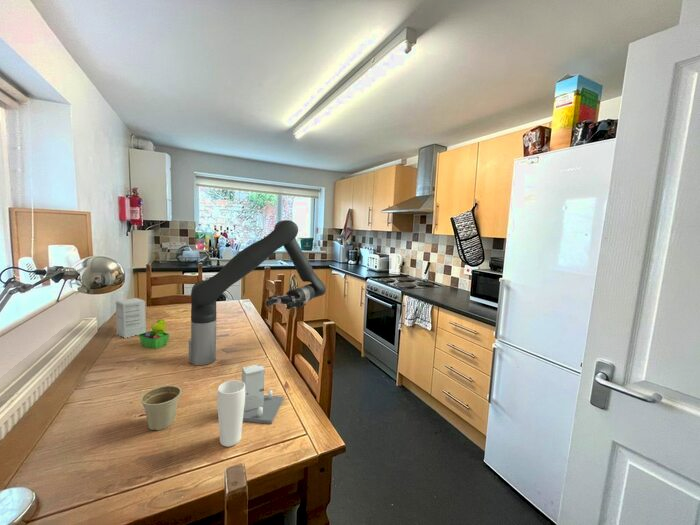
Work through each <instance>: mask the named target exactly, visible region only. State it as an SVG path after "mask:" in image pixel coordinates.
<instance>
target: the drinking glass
mask: <svg viewBox="0 0 700 525" xmlns="http://www.w3.org/2000/svg"><path fill="white" fill-rule="evenodd" d="M216 394H217V395H216V399H217V400H216V404H217V405H216V406H217V407H216V408H217V419H218V420H217V421H218V430H219V443H220V445H221V446H223V447H228V448H229V447H233V446H235V445H237V444H238V443H240V441H241V439H242V434H243V423H244V421H243V415H244V406H245V383H244V382H242V380H237V379H236V380H234V379H233V380H232V379H231V380H228V381H227V380H226V381H225V382H222V383H221V384H219V386H218V387H217V393H216Z"/></svg>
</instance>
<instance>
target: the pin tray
mask: <svg viewBox="0 0 700 525" xmlns="http://www.w3.org/2000/svg"><path fill="white" fill-rule="evenodd" d="M273 391H274V390H272V389H269V390H267V394H264V400H263V406H262V407H258V408H255V409H251V410H248V411H244V415H243V422H248V423H260V424H269V425H270V424H273V422H274V420H275V418H276V416H277V414H278V412H279V410H280V408H281V405H282V404H283V402H284V396H278V395H276V396H275V395H273V394H274V393H273Z"/></svg>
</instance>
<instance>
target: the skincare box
mask: <svg viewBox="0 0 700 525" xmlns="http://www.w3.org/2000/svg"><path fill="white" fill-rule="evenodd" d="M241 368H242V369H241V381H242V382H244V383H245V406H244V411H248V410H251V409H255V408H258V407H262V406H263V400H264V395H265V377H266V376H265V374H266V369H265V367H264V366H263V365H262V364H261V363H260V364H253V365H249V366H244V367H241Z"/></svg>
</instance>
